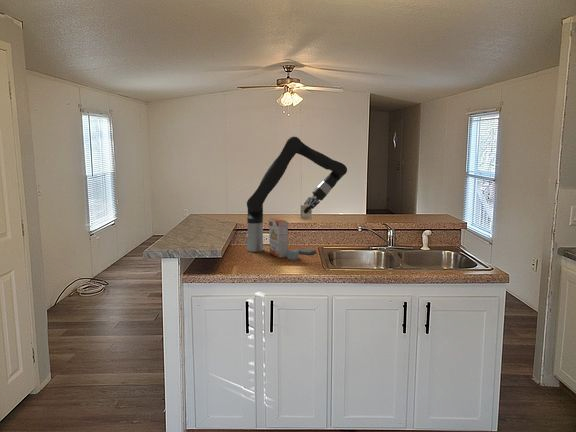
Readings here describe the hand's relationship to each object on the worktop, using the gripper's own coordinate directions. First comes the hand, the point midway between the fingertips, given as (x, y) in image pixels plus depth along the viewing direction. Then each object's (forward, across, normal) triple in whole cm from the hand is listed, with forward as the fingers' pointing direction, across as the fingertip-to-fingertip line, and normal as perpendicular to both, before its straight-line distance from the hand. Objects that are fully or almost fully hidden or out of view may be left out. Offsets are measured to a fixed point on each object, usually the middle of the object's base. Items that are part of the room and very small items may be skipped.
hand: (303, 212), depth 284 cm
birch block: (+2, 0, +4) cm, 5 cm away
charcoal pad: (+16, 0, +18) cm, 25 cm away
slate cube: (+25, +12, +10) cm, 29 cm away
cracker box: (+29, +1, +6) cm, 29 cm away
